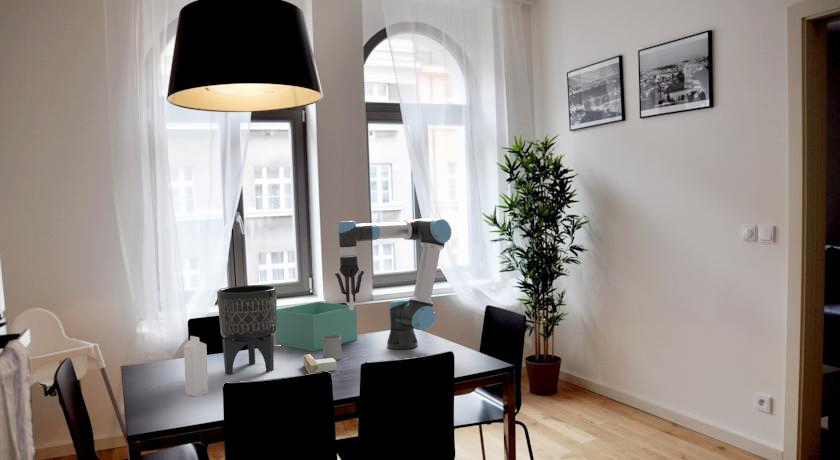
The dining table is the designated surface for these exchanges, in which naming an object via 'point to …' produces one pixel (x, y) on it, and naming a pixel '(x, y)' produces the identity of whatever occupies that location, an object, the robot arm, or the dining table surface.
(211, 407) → the dining table surface
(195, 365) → the milk
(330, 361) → the block
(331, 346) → the cup
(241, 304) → the planter
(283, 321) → the box
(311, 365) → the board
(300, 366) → the dining table surface
